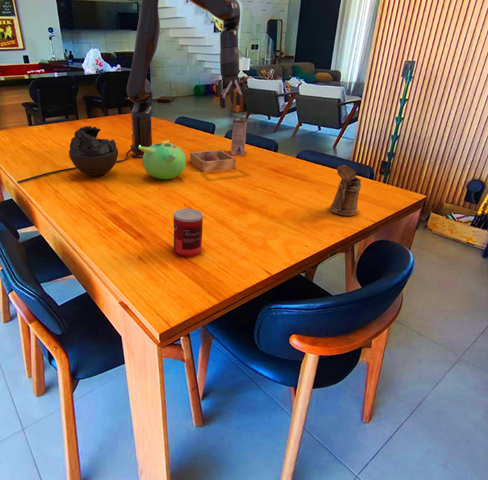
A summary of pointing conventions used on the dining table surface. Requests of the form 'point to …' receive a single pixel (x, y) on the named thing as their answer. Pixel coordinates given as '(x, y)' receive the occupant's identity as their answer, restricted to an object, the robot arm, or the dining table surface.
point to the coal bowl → (92, 152)
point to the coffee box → (238, 136)
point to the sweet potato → (211, 157)
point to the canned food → (188, 232)
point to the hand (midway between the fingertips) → (230, 106)
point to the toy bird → (163, 160)
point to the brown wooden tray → (204, 166)
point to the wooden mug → (346, 192)
